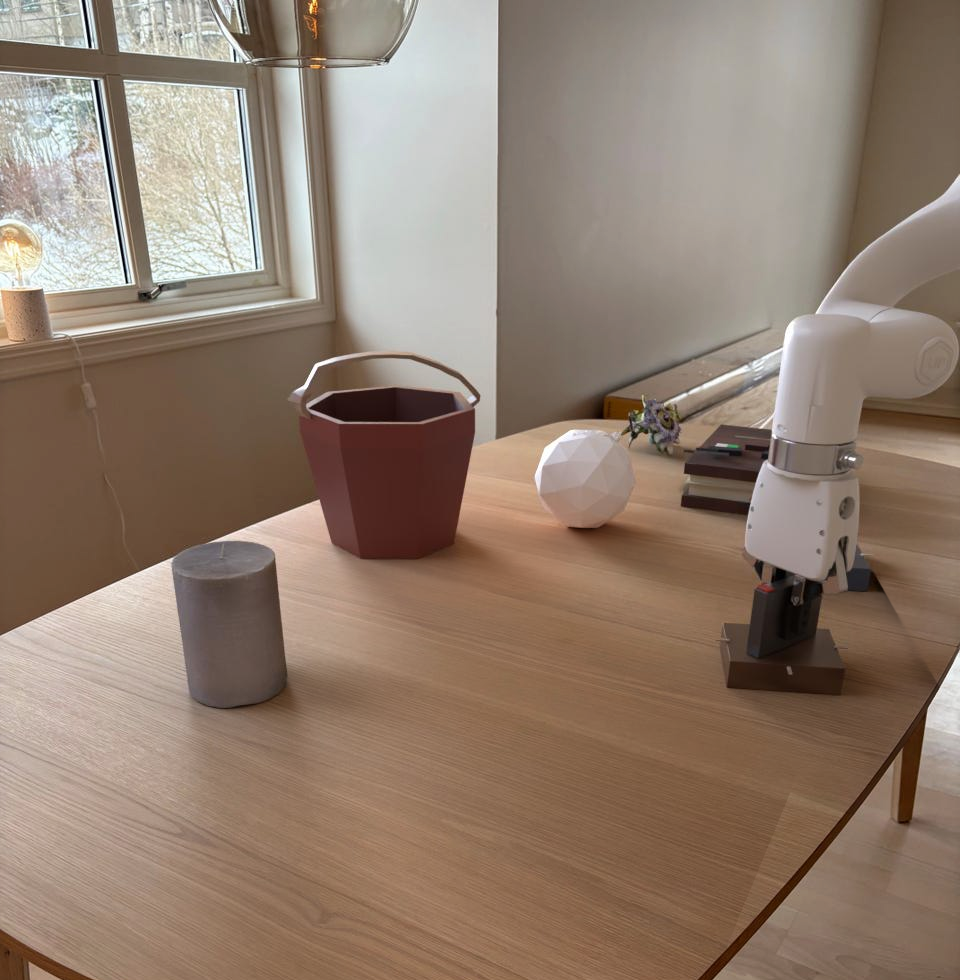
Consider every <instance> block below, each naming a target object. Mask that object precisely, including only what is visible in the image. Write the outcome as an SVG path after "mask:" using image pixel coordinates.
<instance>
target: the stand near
mask: <svg viewBox="0 0 960 980" xmlns="http://www.w3.org/2000/svg"><path fill="white" fill-rule="evenodd" d="M721 625H722V626H721V634H720V638H719V637H715V638H714V639H715V642H720V643H719V651H720V657H721V662H722V669H723V673H724V680H725V684H726V688H730V689H743V690H744V689H745V690H758V691H759V690H760V691H773V692H788V693H791V692H792V693H804V694H818V695H833V696H841V693H842V689H843V685H844V684H843V683H844V679H845V678H844V677H845V673H846V666H845V664H844V662H843V659H842V657H841V654H840V652H839V650H849V649H850V648H849V646H848V645H847V646H846V645H836V643H835V640H834V638H833V636H832V632H831V630H830V628H820V627H819V628H818V627H817V630H816V635H815V636H813V637H810V638H808V639H805V640H803V641H800V642H798V643H795V644H793V645H790V646H788V647H785V648H783V649H780V650H778V651H775V652H773V653H770V654H768V655H765V656H763V657H760V658H756V657H754V656H752V655H750V654H748V653H746V649H747V642H748V634H749V627H750V623H736V622H735V623H734V622H722V624H721Z"/></svg>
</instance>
